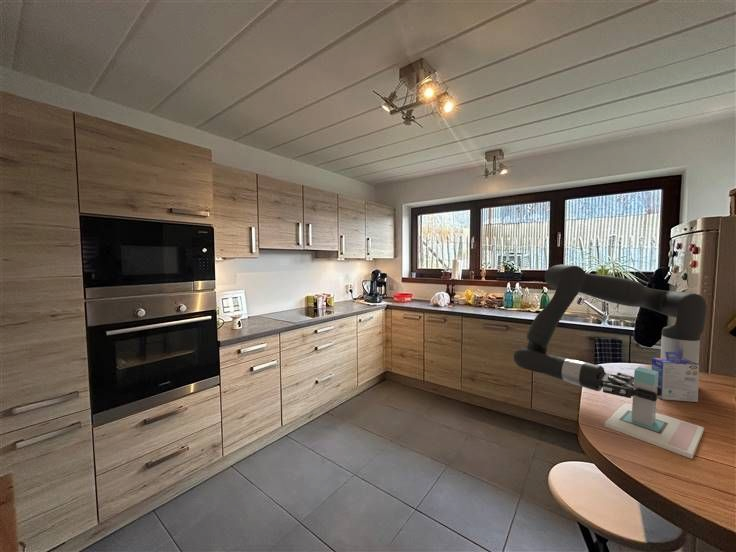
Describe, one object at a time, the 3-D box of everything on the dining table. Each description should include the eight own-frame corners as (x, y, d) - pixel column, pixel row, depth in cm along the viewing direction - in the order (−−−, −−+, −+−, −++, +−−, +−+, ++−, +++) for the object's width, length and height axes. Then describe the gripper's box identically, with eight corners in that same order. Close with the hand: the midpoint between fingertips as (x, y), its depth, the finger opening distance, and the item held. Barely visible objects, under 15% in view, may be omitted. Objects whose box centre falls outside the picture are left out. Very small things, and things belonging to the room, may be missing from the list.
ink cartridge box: (684, 394, 97) (686, 351, 96) (699, 402, 91) (702, 357, 90) (649, 392, 99) (651, 350, 98) (662, 400, 93) (664, 355, 92)
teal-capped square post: (635, 415, 82) (638, 366, 81) (655, 422, 79) (658, 371, 78) (631, 419, 80) (634, 369, 79) (651, 426, 76) (655, 374, 76)
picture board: (624, 406, 89) (624, 402, 89) (703, 431, 76) (704, 427, 76) (604, 426, 79) (604, 422, 79) (692, 458, 66) (692, 454, 66)
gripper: (573, 367, 86) (653, 388, 72) (591, 357, 94) (666, 374, 80) (572, 392, 86) (651, 417, 73) (590, 380, 95) (664, 400, 81)
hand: (658, 394), depth 77 cm, fingers open, 4 cm apart
